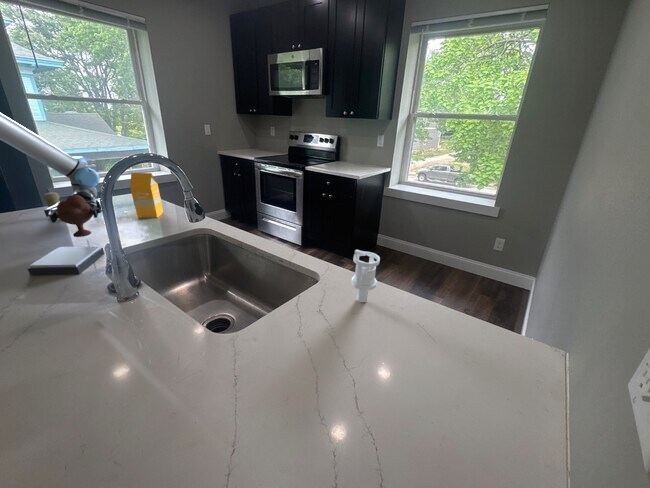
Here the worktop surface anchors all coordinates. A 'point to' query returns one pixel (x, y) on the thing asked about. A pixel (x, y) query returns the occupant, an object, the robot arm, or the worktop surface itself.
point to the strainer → (364, 274)
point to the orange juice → (146, 195)
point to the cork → (51, 199)
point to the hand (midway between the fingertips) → (74, 216)
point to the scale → (66, 261)
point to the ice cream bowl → (75, 213)
